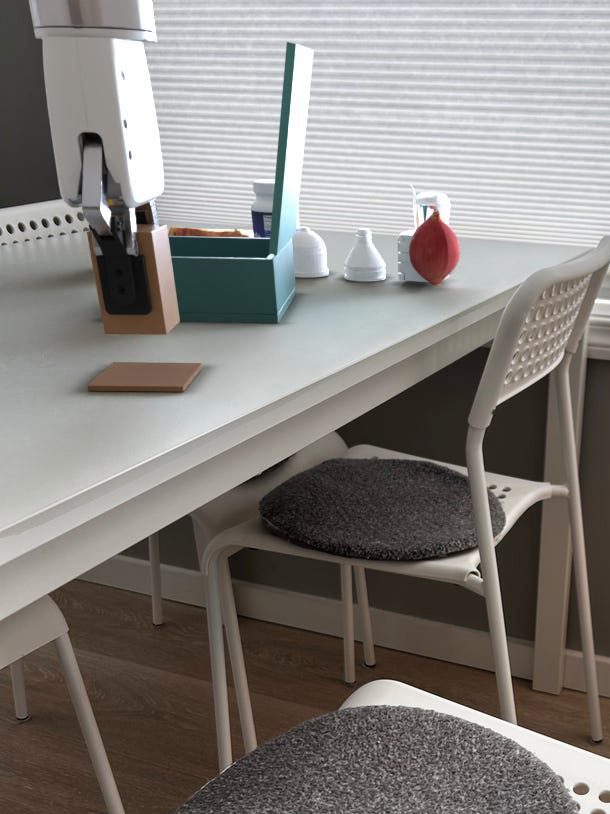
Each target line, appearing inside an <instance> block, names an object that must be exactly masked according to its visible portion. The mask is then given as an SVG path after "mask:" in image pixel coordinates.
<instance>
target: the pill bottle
mask: <svg viewBox="0 0 610 814" xmlns="http://www.w3.org/2000/svg"><path fill="white" fill-rule="evenodd" d="M274 185H275V178H266V179H256V180H253V181H252V188H253V192H254V194H255V200H254V201H253V202H252V203H251V205H250V213H251V224H252V230H253V235H254V238H270V232H271V220H272V209H273V197H274ZM300 227H301V224H300V210H299V208H298V214H297V225H296V232H297V231H299V230H300Z"/></svg>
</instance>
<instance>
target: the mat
mask: <svg viewBox="0 0 610 814" xmlns="http://www.w3.org/2000/svg"><path fill="white" fill-rule="evenodd" d="M202 369H203V363H202V362H147V361H146V362H143V361H142V362H141V361H139V362H137V361H133V362H131V361H114V362H112V363H110V365H109V366H107V368H105V369H104V370H103V371H101V373H99V374H98V375H97V376H96V377H95V378H94V379H93V380H91V381H90V382H89V383H88V384H87V385H86V388H87V391H88V392H91V391H93V392H159V393H161V392H164V393H165V392H167V393H169V392H170V393H171V392H172V393H175V392H176V393H183V392H185V390H187V388H188V387H189V386H190V384H191V383H192V382H193V381H194V379H195V378H196V377H197V375H198V374H199V373H200V372H201V370H202Z"/></svg>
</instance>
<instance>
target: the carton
mask: <svg viewBox="0 0 610 814" xmlns="http://www.w3.org/2000/svg"><path fill="white" fill-rule="evenodd" d="M167 225H168V224H165V223H164V224H161V223H159V224H136V229H137V240H138V255H144V257H145V264H146V270H147V277H148V284H149V290H150V297H151V304H152V311H151V313H149V314H148V315H111V314H108V313H107V312H106V310H105V305H104V300H103V294H102V288H101V283H100V277H99V271H98V265H97V260H96V255H95V252H94V248H93V240H92V231H90V230H87V231H86V237H87V242H88V248H89V253H90V259H91V264H92V269H93V270H92V271H93V275H94V276H93V277H94V281H95V288H96V293H97V298H98V305H99V310H100V315H101V322H102V327H103V332H104V335H123V336H125V335H126V336H127V335H130V336H131V335H142V336H150V335H151V336H157V335H158V336H166V335H168V334H169V333H170V332H171V331H172V330H173V329H174V328H175V327H176V326H177V325H179V323H180V318H179V311H178V303H177V296H176V289H175V281H174V274H173V267H172V260H171V252H170V245H169V238H168V233H169V230H168V226H167ZM122 227H123V230H124V224H122Z"/></svg>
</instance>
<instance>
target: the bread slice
mask: <svg viewBox="0 0 610 814" xmlns="http://www.w3.org/2000/svg"><path fill="white" fill-rule="evenodd" d="M168 236H204V237H253V238H254V235H253V229H241V228H234V229H233V228H232V229H231V228H230V229H229V228H213V229H212V228H193V227H182V226H173V225H172V226H170V227H169V230H168Z"/></svg>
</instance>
